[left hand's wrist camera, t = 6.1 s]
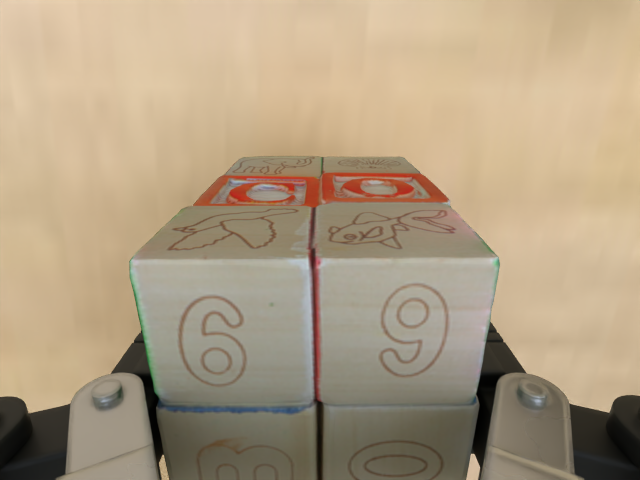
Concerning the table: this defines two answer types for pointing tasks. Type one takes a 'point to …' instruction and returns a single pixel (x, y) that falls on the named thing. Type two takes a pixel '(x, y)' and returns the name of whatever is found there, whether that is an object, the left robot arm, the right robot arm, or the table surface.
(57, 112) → the table surface
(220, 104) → the table surface
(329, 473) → the stack of blocks
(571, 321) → the table surface
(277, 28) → the table surface
